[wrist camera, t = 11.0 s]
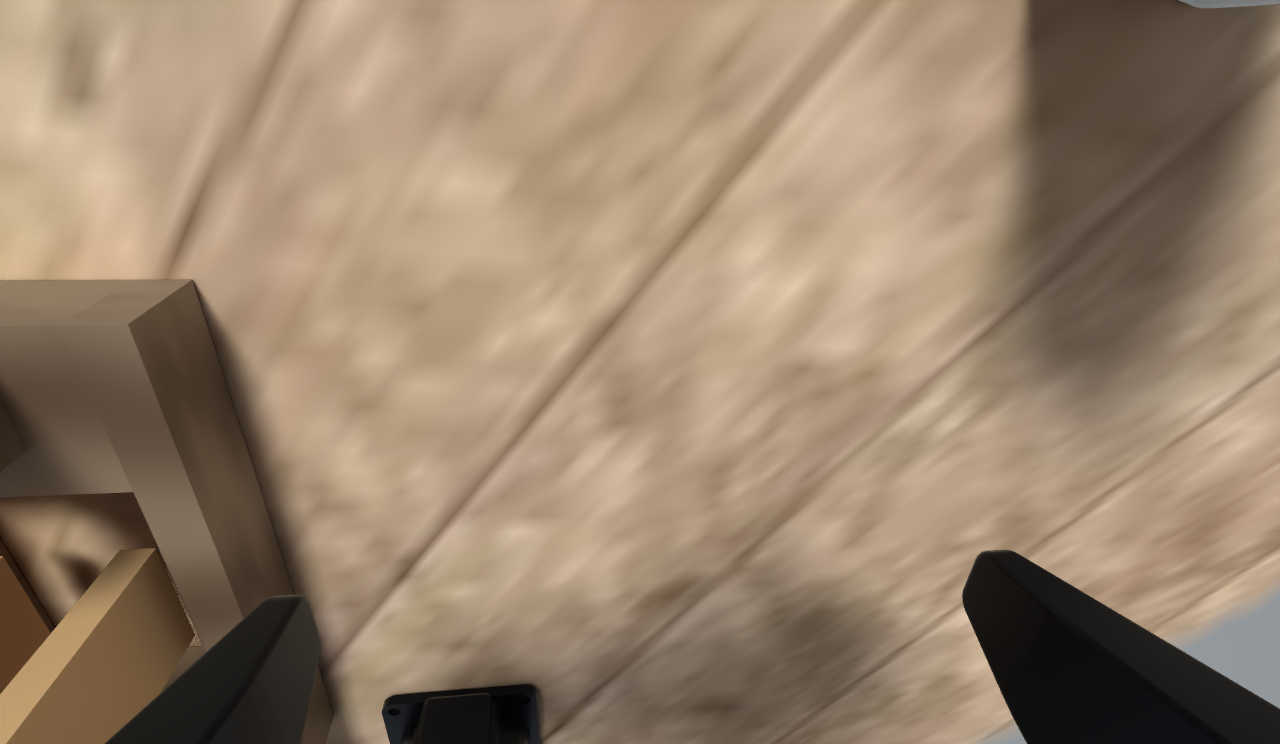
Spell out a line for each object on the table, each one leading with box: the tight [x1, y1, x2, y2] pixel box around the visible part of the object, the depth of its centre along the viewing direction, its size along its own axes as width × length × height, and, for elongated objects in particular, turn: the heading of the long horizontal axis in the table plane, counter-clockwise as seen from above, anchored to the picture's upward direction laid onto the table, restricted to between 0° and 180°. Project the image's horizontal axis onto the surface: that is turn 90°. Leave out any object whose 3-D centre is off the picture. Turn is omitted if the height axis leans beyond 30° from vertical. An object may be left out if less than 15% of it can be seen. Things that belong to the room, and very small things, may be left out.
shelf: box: [0, 280, 334, 744], centre depth 18 cm, size 20×10×8 cm, turn 178°
